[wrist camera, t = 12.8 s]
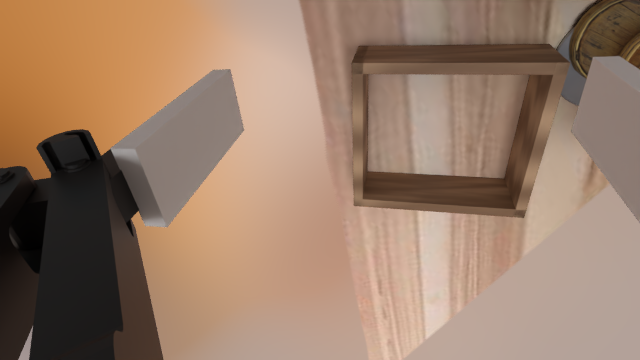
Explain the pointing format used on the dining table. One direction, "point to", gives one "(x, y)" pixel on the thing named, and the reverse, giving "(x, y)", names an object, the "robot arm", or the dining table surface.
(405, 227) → the dining table surface
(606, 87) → the robot arm
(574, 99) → the coaster
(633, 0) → the beer stein
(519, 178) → the wooden frame
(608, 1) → the wooden mug
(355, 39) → the dining table surface
